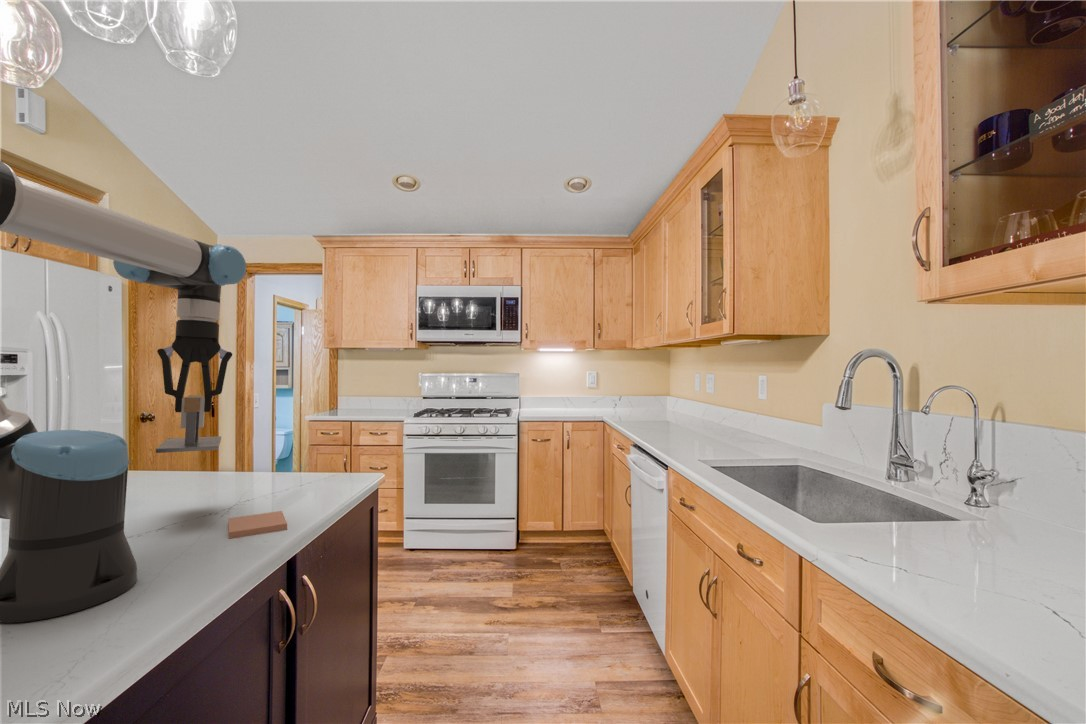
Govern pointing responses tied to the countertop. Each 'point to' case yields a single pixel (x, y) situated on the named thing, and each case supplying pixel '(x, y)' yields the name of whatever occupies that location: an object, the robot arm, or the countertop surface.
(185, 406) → the trowel
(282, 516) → the tile
